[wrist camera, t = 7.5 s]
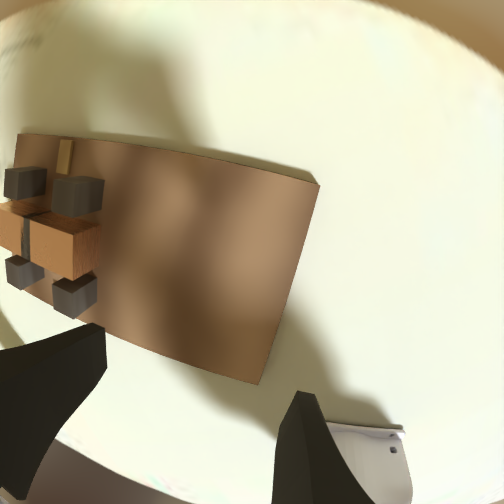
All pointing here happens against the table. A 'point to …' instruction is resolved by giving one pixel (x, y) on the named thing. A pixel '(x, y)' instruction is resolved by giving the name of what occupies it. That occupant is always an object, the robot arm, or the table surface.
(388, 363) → the table surface
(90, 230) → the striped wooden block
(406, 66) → the table surface
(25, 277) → the brown flat board
